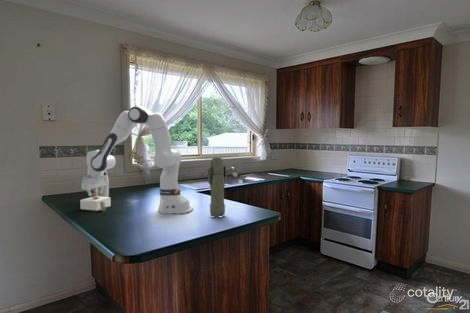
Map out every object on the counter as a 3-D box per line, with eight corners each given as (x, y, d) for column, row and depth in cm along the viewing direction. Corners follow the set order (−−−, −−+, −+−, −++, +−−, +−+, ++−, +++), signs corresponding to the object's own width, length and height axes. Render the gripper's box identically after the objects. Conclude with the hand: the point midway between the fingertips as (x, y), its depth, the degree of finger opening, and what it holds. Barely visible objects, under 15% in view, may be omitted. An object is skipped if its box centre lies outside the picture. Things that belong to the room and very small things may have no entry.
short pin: (106, 210, 188) (106, 201, 188) (103, 211, 186) (103, 202, 185) (102, 210, 189) (102, 201, 189) (99, 211, 186) (99, 202, 186)
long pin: (99, 207, 197) (98, 186, 196) (96, 208, 194) (95, 187, 193) (95, 206, 198) (95, 186, 197) (92, 207, 195) (91, 187, 194)
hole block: (110, 205, 201) (110, 197, 200) (96, 210, 188) (96, 201, 188) (95, 204, 204) (94, 196, 204) (80, 209, 192) (80, 200, 191)
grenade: (205, 216, 174) (204, 158, 172) (220, 212, 182) (220, 157, 180) (214, 219, 168) (213, 159, 165) (229, 215, 176) (229, 157, 173)
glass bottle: (91, 201, 213) (89, 163, 211) (100, 198, 223) (99, 162, 221) (102, 202, 210) (101, 164, 208) (111, 199, 220) (110, 162, 218)
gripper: (86, 176, 184) (87, 197, 185) (109, 172, 203) (109, 191, 204) (78, 175, 186) (79, 197, 187) (101, 172, 205) (102, 191, 206)
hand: (95, 194), depth 196 cm, fingers open, 8 cm apart
